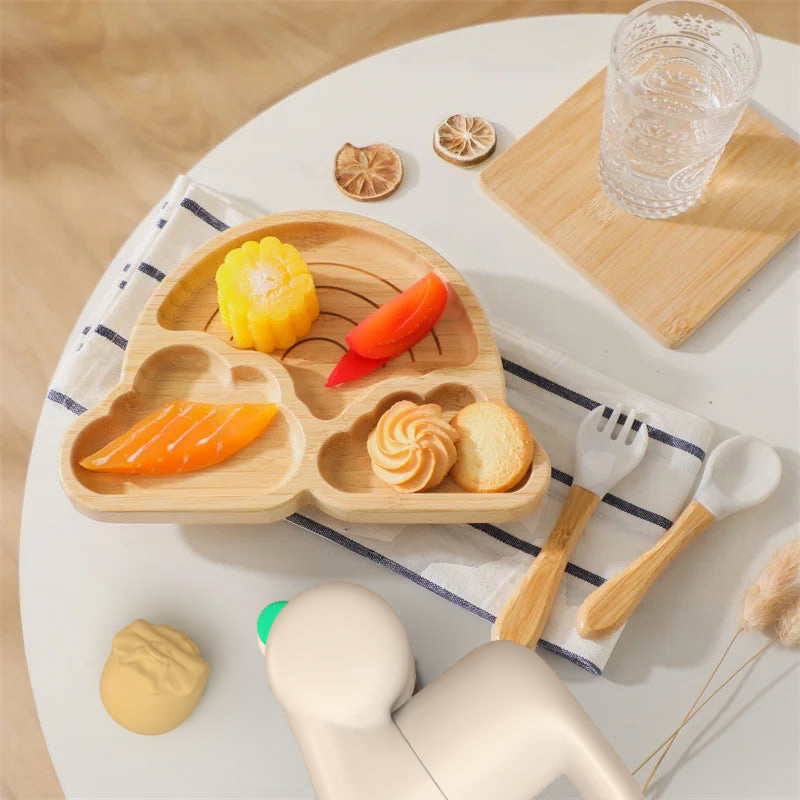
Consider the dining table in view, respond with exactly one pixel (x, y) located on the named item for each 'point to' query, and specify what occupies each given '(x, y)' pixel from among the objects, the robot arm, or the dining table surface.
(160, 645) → the sculpture
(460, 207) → the dining table surface
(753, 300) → the dining table surface
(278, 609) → the water bottle
